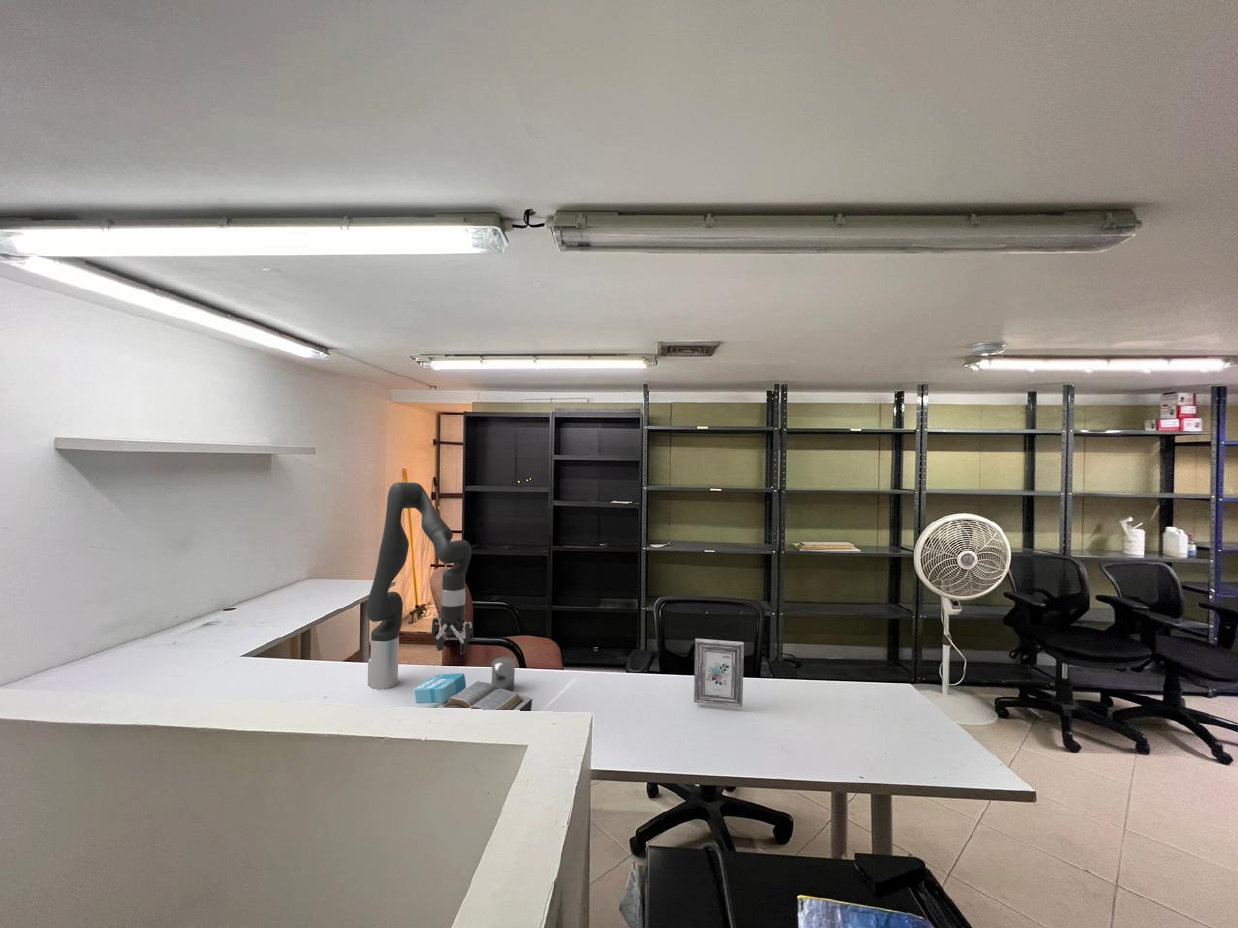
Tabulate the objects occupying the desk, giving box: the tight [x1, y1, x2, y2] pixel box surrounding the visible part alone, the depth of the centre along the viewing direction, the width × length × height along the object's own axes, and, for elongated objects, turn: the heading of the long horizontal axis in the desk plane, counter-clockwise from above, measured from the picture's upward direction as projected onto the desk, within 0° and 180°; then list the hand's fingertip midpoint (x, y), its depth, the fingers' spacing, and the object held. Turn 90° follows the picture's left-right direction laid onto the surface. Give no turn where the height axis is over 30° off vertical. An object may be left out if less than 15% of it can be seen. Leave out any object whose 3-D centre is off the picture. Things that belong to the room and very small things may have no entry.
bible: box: [436, 680, 533, 712], centre depth 154 cm, size 23×27×10 cm
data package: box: [414, 673, 467, 704], centre depth 160 cm, size 12×4×12 cm
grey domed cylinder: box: [491, 656, 516, 692], centre depth 177 cm, size 8×8×10 cm
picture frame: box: [693, 638, 745, 708], centre depth 170 cm, size 16×2×22 cm, turn 81°
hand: (451, 651), depth 159 cm, fingers open, 8 cm apart
